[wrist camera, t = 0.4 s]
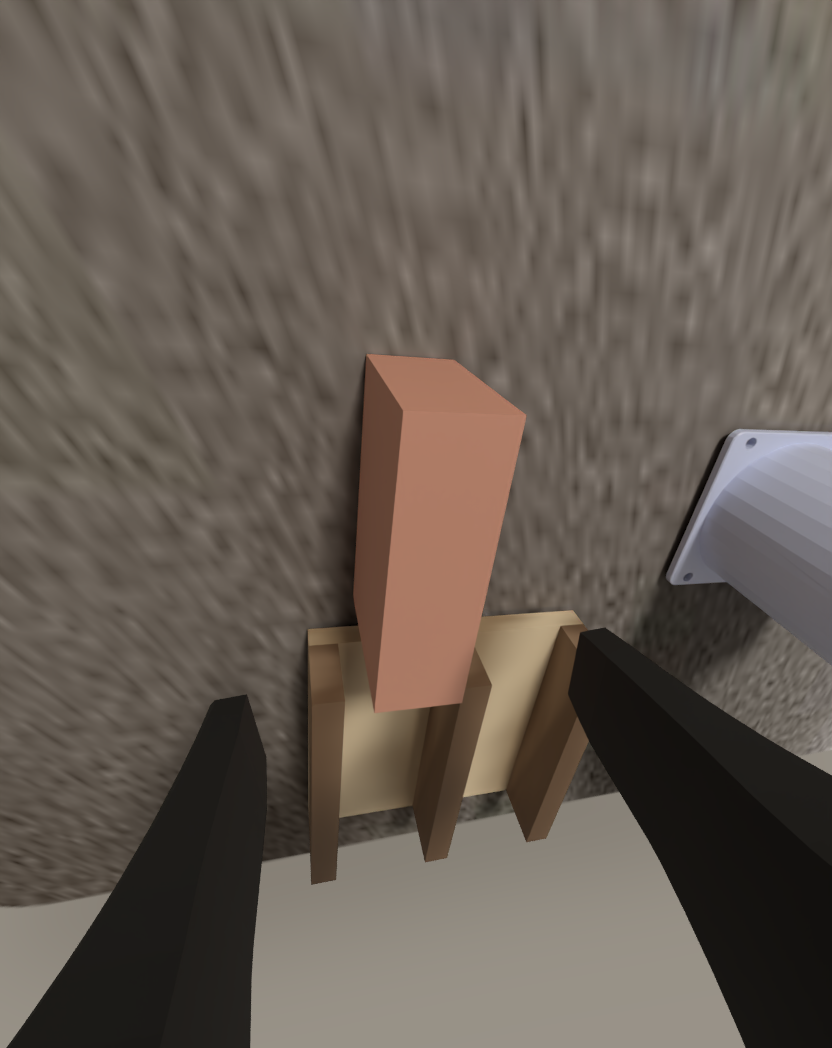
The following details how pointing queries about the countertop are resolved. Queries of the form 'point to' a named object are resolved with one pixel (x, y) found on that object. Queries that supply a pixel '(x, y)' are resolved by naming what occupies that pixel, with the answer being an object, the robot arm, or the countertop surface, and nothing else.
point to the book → (427, 523)
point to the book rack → (444, 735)
